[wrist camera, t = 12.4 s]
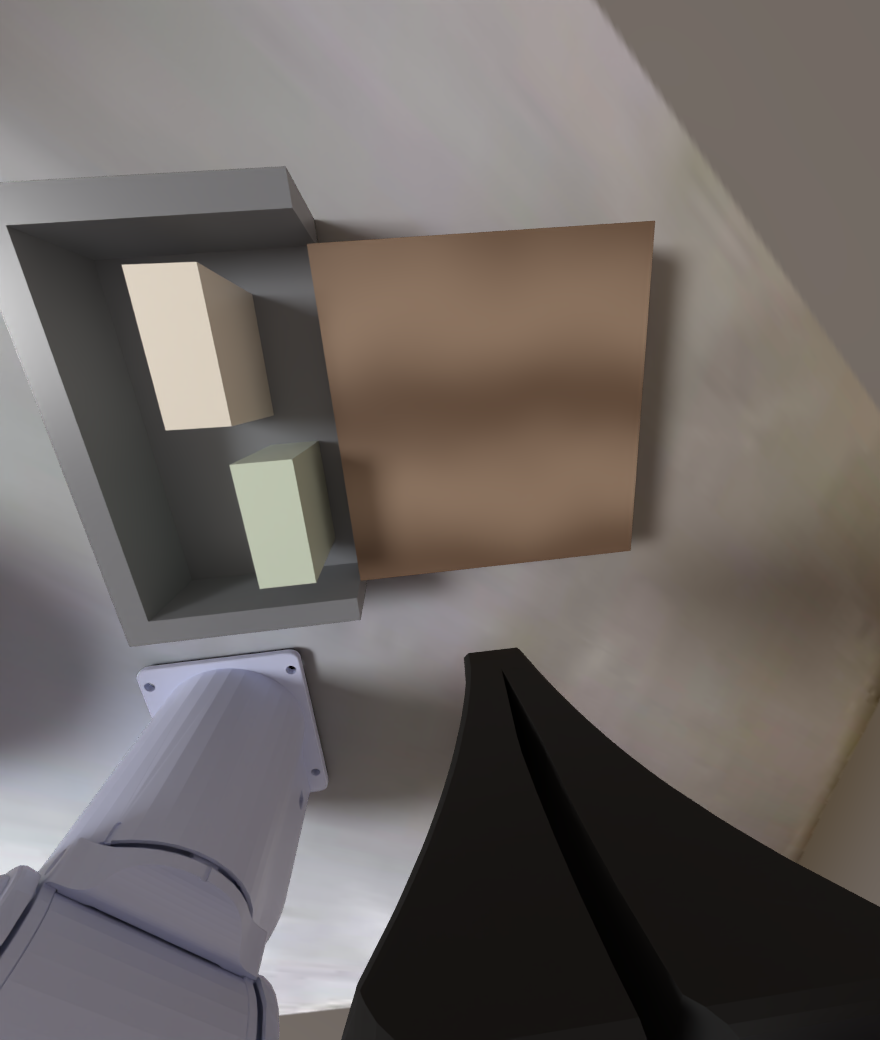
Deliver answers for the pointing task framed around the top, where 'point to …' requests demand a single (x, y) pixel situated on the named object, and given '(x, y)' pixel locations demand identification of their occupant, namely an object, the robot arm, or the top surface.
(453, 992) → the robot arm
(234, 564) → the box
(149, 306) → the cream tile
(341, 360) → the walnut board
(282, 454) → the sage tile
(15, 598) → the top surface
